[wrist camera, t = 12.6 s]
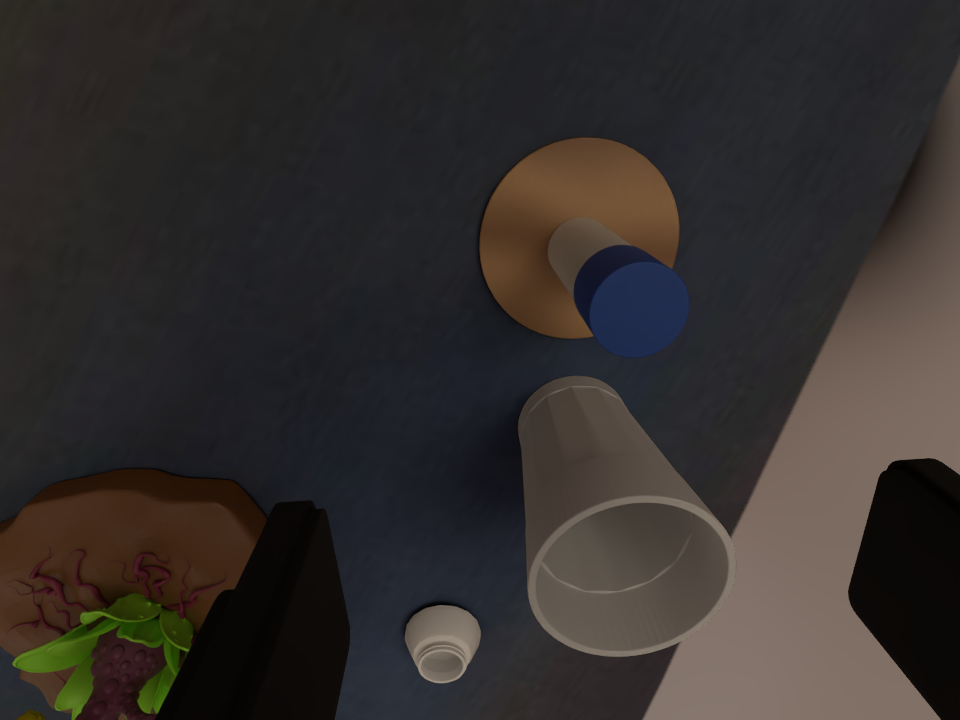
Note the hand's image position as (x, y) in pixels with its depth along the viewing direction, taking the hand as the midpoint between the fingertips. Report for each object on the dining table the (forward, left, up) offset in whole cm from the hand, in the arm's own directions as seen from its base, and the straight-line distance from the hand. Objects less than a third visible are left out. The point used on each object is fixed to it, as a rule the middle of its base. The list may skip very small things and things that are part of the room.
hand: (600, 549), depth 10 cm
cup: (+10, +4, -21) cm, 23 cm away
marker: (-1, +4, -20) cm, 21 cm away
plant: (+21, -22, -21) cm, 37 cm away
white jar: (+25, -5, -21) cm, 33 cm away
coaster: (-1, +4, -21) cm, 21 cm away
